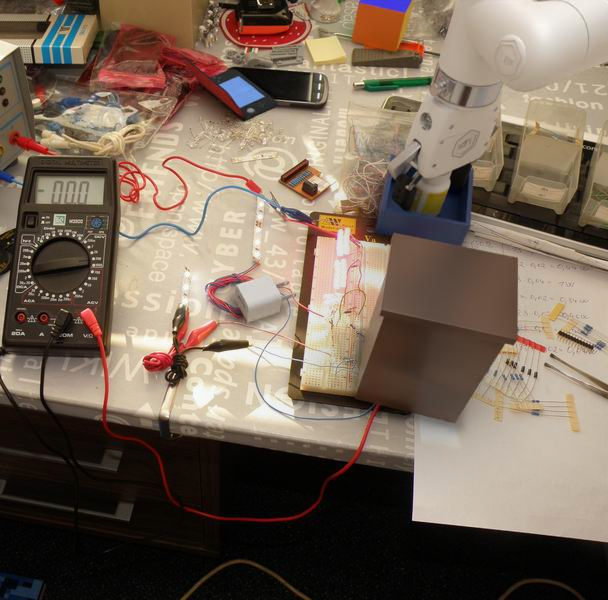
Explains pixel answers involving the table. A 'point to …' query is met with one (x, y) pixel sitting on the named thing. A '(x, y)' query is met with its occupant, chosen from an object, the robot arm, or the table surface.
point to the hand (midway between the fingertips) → (427, 192)
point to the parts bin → (441, 229)
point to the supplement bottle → (431, 195)
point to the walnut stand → (437, 326)
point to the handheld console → (234, 92)
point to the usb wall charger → (260, 297)
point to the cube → (382, 23)
